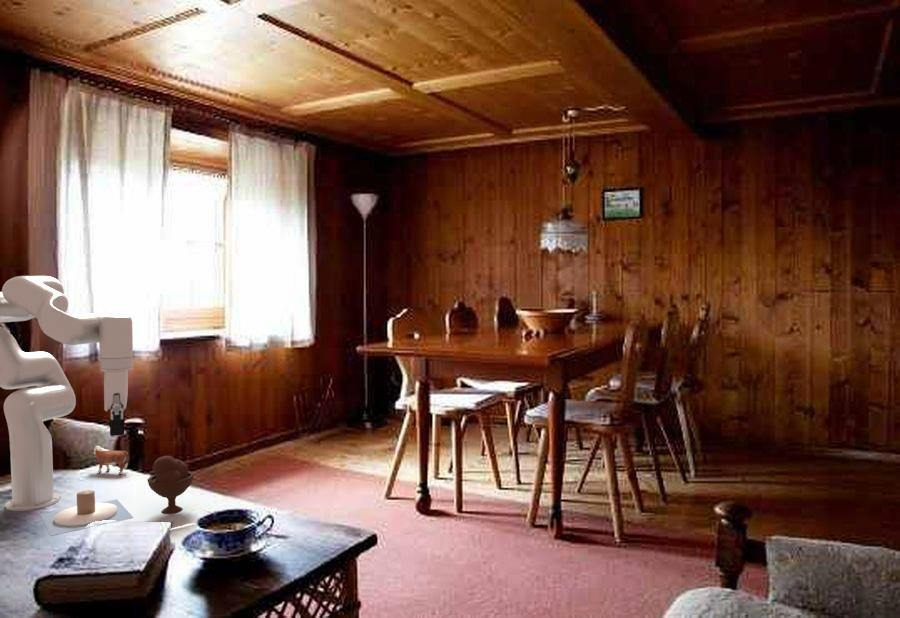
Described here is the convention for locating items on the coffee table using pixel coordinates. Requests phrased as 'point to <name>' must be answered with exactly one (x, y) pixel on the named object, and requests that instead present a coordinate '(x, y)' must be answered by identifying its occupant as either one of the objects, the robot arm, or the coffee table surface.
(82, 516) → the lid
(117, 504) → the mat
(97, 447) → the bull figurine
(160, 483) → the ice cream bowl
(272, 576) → the coffee table surface
